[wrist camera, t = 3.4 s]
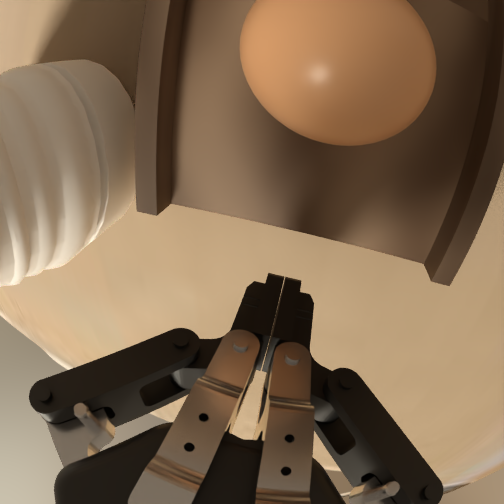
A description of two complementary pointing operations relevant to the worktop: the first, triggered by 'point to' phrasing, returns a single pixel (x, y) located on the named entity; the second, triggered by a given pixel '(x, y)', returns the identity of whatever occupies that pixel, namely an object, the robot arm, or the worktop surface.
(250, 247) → the worktop surface
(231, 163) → the track
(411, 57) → the ball
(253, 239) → the worktop surface
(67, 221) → the honey pot
